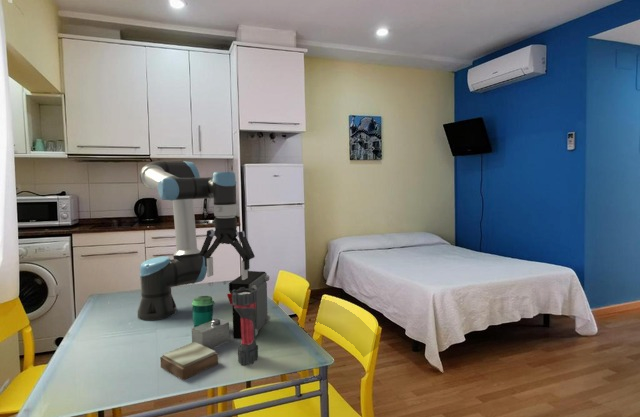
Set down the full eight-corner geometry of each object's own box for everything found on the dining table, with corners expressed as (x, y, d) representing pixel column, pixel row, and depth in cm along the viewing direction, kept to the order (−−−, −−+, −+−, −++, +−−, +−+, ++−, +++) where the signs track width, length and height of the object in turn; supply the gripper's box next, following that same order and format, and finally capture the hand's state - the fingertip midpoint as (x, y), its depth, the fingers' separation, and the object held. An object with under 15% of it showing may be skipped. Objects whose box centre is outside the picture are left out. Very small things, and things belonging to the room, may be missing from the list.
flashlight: (236, 370, 113) (234, 295, 111) (231, 359, 120) (229, 288, 118) (261, 365, 116) (260, 291, 114) (255, 354, 123) (253, 285, 121)
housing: (192, 348, 128) (191, 325, 127) (218, 337, 137) (218, 315, 136) (203, 353, 124) (202, 329, 124) (229, 341, 133) (229, 319, 132)
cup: (188, 332, 141) (186, 300, 140) (201, 324, 148) (200, 294, 147) (206, 335, 138) (205, 303, 137) (219, 326, 146) (218, 296, 145)
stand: (160, 367, 115) (160, 354, 115) (195, 352, 124) (195, 340, 124) (183, 380, 108) (182, 366, 107) (218, 363, 117) (217, 351, 117)
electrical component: (255, 340, 134) (253, 284, 132) (228, 337, 136) (226, 283, 134) (271, 321, 151) (270, 271, 149) (247, 319, 153) (246, 270, 151)
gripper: (187, 216, 130) (190, 277, 132) (253, 219, 123) (254, 283, 125) (200, 214, 137) (202, 272, 139) (263, 216, 130) (264, 277, 132)
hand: (227, 277), depth 132 cm, fingers open, 13 cm apart
